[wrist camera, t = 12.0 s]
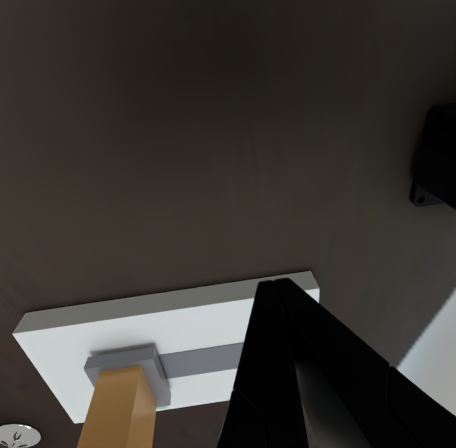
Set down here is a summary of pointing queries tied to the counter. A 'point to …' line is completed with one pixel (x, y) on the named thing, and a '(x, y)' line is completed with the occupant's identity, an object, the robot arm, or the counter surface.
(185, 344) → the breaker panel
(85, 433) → the toggle
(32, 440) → the wineglass
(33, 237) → the counter surface
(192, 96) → the counter surface
